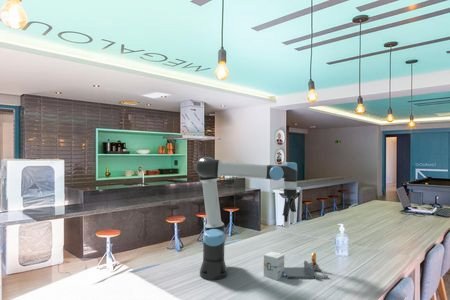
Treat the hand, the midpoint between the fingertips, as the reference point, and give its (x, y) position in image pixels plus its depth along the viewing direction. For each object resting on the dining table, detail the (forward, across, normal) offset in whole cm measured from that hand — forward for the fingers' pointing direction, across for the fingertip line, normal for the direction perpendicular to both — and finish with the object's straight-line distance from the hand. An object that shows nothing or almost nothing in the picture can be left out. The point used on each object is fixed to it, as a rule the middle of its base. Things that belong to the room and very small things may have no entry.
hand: (289, 224), depth 180 cm
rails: (+25, 0, -16) cm, 30 cm away
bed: (+25, -7, -6) cm, 27 cm away
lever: (+25, +4, -14) cm, 29 cm away
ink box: (+26, -15, +4) cm, 30 cm away
